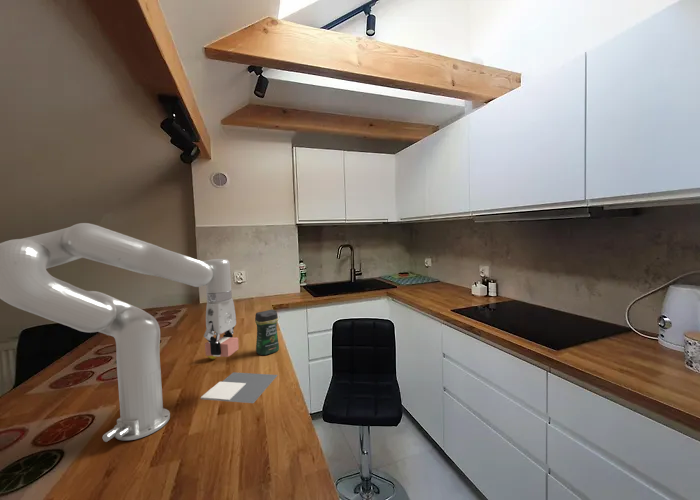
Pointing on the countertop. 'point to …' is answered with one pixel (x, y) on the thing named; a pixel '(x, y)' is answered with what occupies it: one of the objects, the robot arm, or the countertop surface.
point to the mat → (249, 386)
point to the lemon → (212, 357)
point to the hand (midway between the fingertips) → (222, 349)
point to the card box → (224, 346)
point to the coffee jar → (266, 332)
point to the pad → (223, 390)
